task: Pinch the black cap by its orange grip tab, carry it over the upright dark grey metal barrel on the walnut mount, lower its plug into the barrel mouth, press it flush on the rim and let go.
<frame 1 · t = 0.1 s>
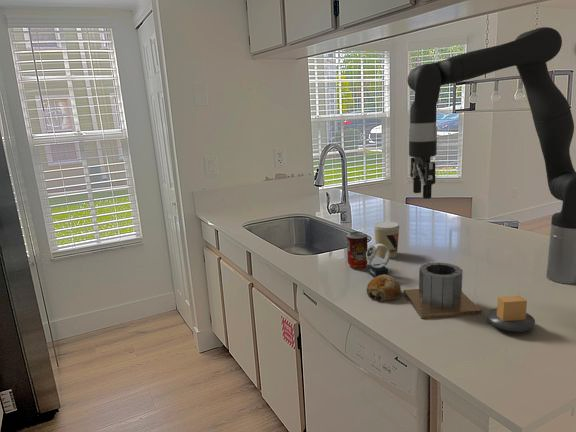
hand: (421, 195, 124), 29 cm above the worktop, tool pointing down, fingers open, 8 cm apart
cap: (510, 326, 106), on the worktop
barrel: (439, 303, 120), on the worktop
watch: (378, 276, 143), on the worktop
coffee cup: (386, 255, 162), on the worktop
soda can: (357, 266, 152), on the worktop
bread roll: (383, 296, 128), on the worktop
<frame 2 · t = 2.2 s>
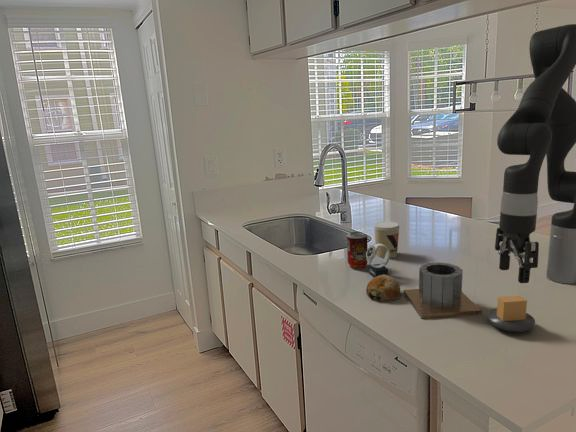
hand: (513, 275, 103), 13 cm above the worktop, tool pointing down, fingers open, 8 cm apart
nothing on the worktop moved.
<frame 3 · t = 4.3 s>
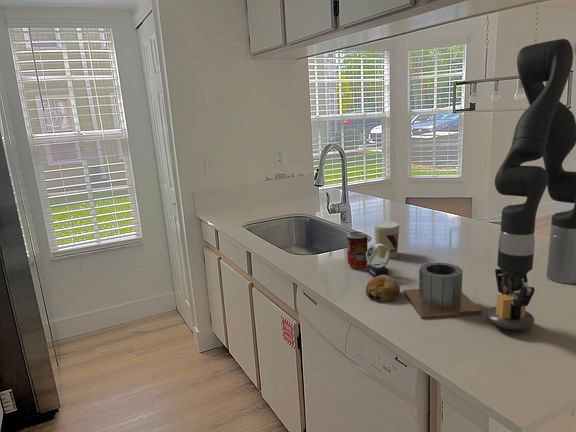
hand: (511, 314, 105), 3 cm above the worktop, tool pointing down, fingers closed on cap, 3 cm apart
cap: (509, 324, 106), on the worktop, touching gripper
everything else where it was.
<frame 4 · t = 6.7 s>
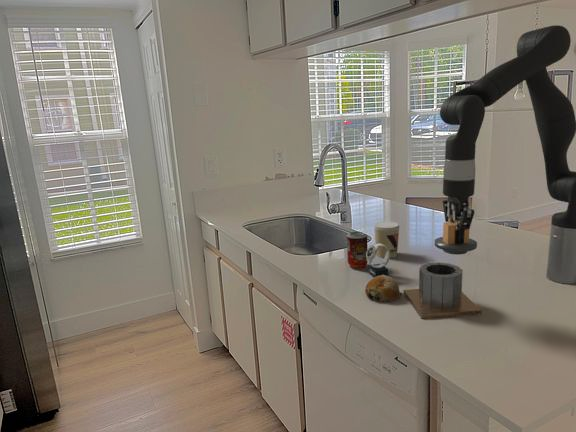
hand: (456, 241, 112), 19 cm above the worktop, tool pointing down, fingers closed on cap, 3 cm apart
cap: (455, 250, 113), point 17 cm above the worktop, touching gripper
everything else where it was.
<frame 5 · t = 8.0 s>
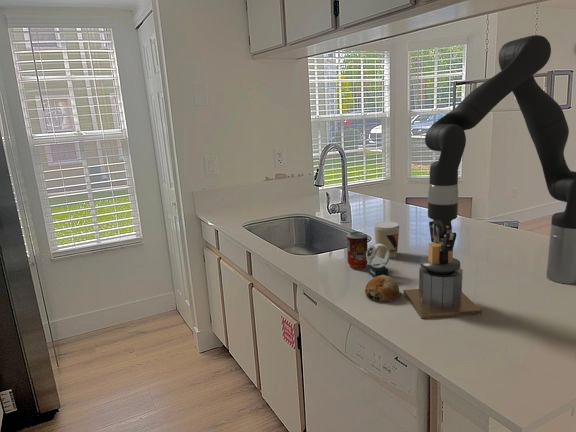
hand: (440, 261, 117), 13 cm above the worktop, tool pointing down, fingers closed on cap, 3 cm apart
cap: (439, 270, 118), point 10 cm above the worktop, touching gripper
everything else where it was.
when the fingers open (12 cm above the worktop, at t = 9.2 s): cap stays where it is, resting on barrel.
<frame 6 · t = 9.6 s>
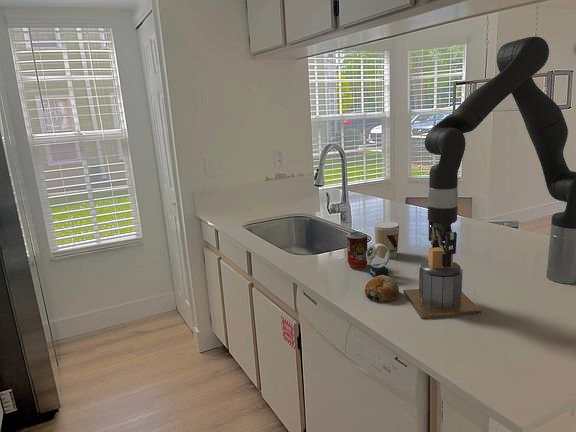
hand: (440, 262, 117), 12 cm above the worktop, tool pointing down, fingers open, 7 cm apart
cap: (440, 274, 118), point 9 cm above the worktop, touching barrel
everything else where it was.
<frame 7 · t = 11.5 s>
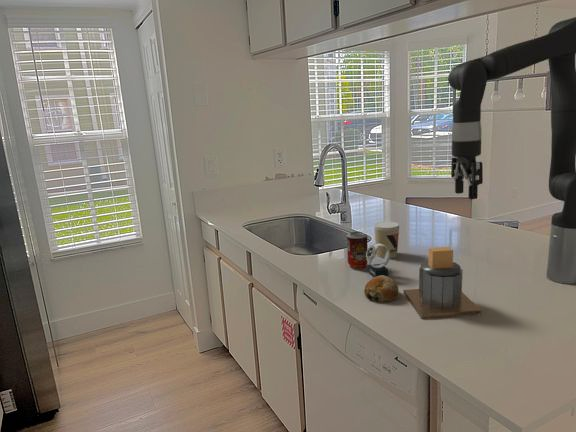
hand: (465, 195, 121), 29 cm above the worktop, tool pointing down, fingers open, 8 cm apart
nothing on the worktop moved.
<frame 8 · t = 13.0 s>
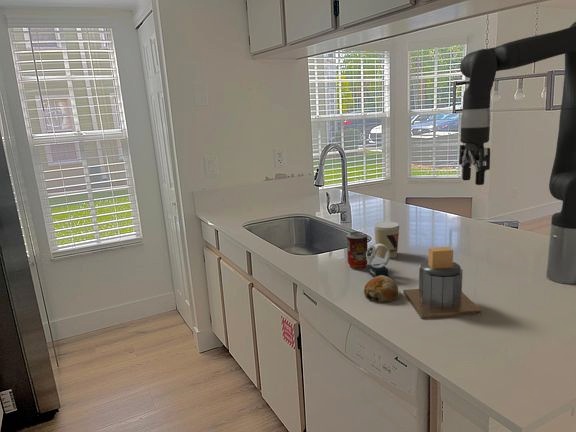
hand: (472, 182, 124), 32 cm above the worktop, tool pointing down, fingers open, 8 cm apart
at the end: cap 0.2 cm off-centre on the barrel, point 8.7 cm above the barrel's base; cap tilted 0°; the gripper is holding nothing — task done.
